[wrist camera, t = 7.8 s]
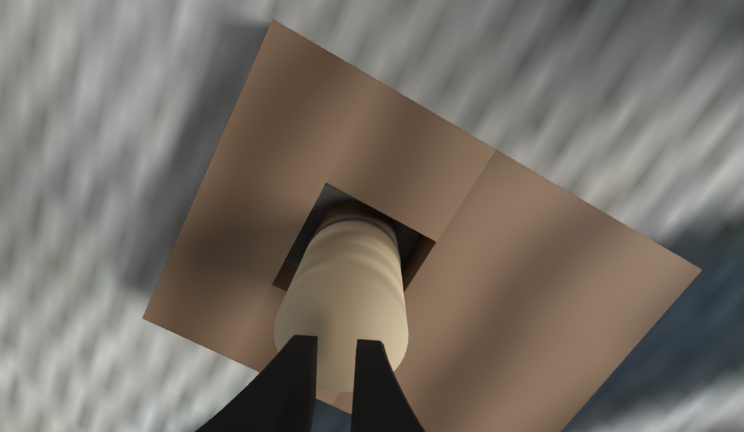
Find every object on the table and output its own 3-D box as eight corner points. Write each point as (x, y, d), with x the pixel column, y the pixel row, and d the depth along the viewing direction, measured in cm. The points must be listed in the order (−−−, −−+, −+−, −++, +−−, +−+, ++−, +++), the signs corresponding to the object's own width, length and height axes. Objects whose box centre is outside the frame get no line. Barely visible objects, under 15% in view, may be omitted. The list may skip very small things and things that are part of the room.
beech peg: (402, 205, 19) (417, 280, 11) (392, 282, 20) (401, 398, 13) (316, 197, 19) (274, 267, 11) (312, 275, 20) (271, 387, 13)
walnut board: (662, 248, 19) (702, 269, 17) (497, 447, 23) (511, 487, 21) (287, 29, 17) (272, 19, 15) (169, 292, 21) (142, 318, 18)
